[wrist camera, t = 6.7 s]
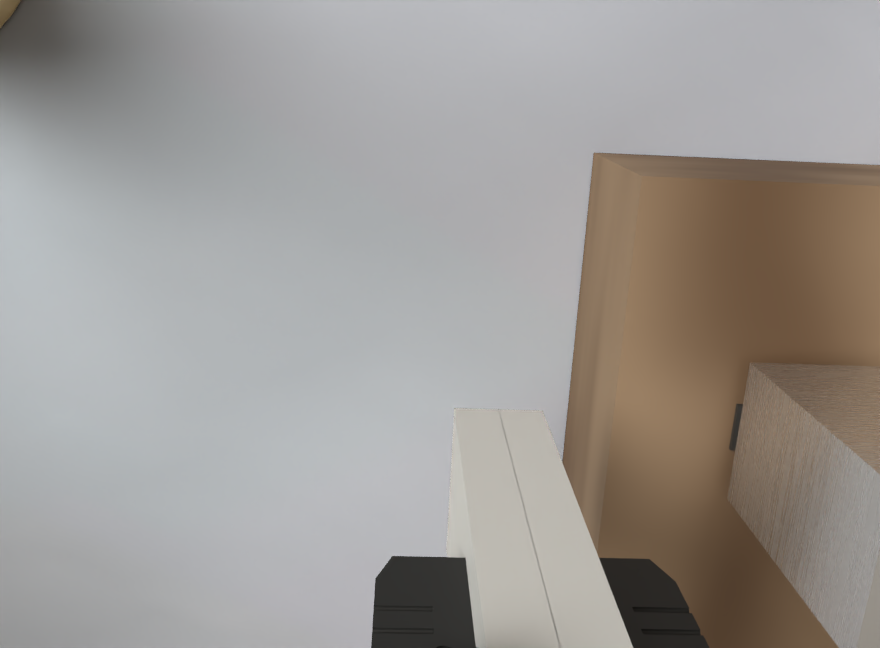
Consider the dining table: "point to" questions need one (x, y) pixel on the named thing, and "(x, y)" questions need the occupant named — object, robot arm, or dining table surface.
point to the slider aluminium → (816, 487)
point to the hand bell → (7, 9)
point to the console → (709, 359)
